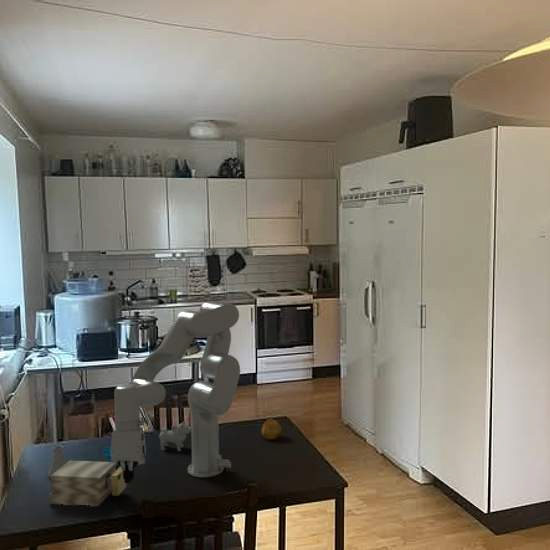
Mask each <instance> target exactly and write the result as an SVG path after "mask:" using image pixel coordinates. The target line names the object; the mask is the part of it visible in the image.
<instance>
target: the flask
mask: <svg viewBox="0 0 550 550" xmlns="http://www.w3.org/2000/svg"><path fill="white" fill-rule="evenodd" d="M63 449H64V446H63V445H56V446H53V447H52V450H53V457H52V462H51V464H50V468H49V470H48V473H47V477H48V478H49V479H50V480H51V475H52V474H54V473H55V472H56V471H57V470H59V469H60V468H61V467H62V466H64V465H65V464H66V463H67V462H66V460H65V457H64V453H63V451H64V450H63Z"/></svg>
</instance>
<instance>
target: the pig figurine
mask: <svg viewBox="0 0 550 550" xmlns="http://www.w3.org/2000/svg"><path fill="white" fill-rule="evenodd" d="M190 433H191V426H189V425H187V424H186V421H182V422H181V423H179V424H178V425H177V426H176V425H175V424H173V425H172V426H171V430H168V429H166V428H163V429H161V430H160V433H159V435H158V437H159V440H160V449H161V451H165V450H166V449H165V446H167V447H169V445H168V443H169V442H170V443H174V444H175V445H176V448H177V452H182V450H181V448H184V447H185V446H184V443H183V442H184V441H186V439H187V438H188V437H187V435H188V434H190Z"/></svg>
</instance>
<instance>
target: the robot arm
mask: <svg viewBox="0 0 550 550" xmlns="http://www.w3.org/2000/svg"><path fill="white" fill-rule="evenodd" d="M239 318H240V313H239V309H238V308H237V306H235V305H234V304H233V303H230V302H224V301H217V300H216V301H215V300H207V301H204V302H203V303H201V305H200V307H199V311H197V310H196V311H195V310H182V311H181V312H179V313H178V314H177V316H176V317H175V319H174V320H173V321H172V322H173V323H172V324H171V326H170V327H169V329H168V331H167V333H166V335H165V336H164V337H163V340H162V341H161V343H160V345H159V346H158V348H156V349H155V350H154V351H153V352H151V353H150V354H149V355H148V356H147V357H146V358H145V359H144V360H143V361H142V362H141V363H140V365H139V366H138V368H137V369H136V371H135V373H134V374H133V376H132V378H131V379H130V382H129V383H125V384H124V383H122V384H119V385H117V386H115V389H114V393H113V394H114V428H113V430H112V435H111V442H110V443H111V444H110V445H111V446H110V447H111V458H112V460H111V462H112V463H115V464H117V466H118V465H119V466H120V467H121V469H122V470H123V479H124V483H126V484H130V483H131V482H132V481H133V480H134V479H135V468H136V467H137V466H139V465H144V464H145V463H146V458H145V456H146V455H147V448H146V447H147V445H146V439H145V437H146V436H145V432H144V429H143V428H144V427H143V426H144V424H145V421H144V420H142V419H141V416H140V408H142V407H154V406H157V405H160V404H161V403H162V402H163V401H164V400H165V398H166V394H167V393H166V389H165V387H164V386H163V385H162V384H161V383H159V382H156V381H155V378H156V377H157V376H158V374H159V373H160V372H161V371H162V370H164V369H165V368H166V367H168V366H170V365H174V364H175V363H178V362H180V361H181V360H183V357H184V356H185V354H186V352H187V351H188V349H189V348H190V344H191V343H192V342H193V340H194V338H198V339H202V338H206V343H205V347H204V351H203V354H202V357H201V362H200V366H199V371H200V373H201V374H202V375H203V376H204V377H205V378H208V379H210V380H213V383H212V382H210V381H206V380H205V381H204V380H200V381H196V382H195V383H193V384H192V385H191V386H190V388H189V390H188V393H187V399H188V400H187V401H188V406H189V407H188V408H189V411H190V425H191V426H190V427H191V431H190V433H191V437H190V438H191V463H190V464H189V465H188V467H187V474H189V475H191V476H192V477H196V478H211V477H216V476H218V475H220V474H221V473H222V472H224V468H228V469H230V468H232V462H231V461H230V460H229V459H223V458H222V454H220V446H219V445H220V438H219V435H220V434H219V429H220V426H219V423H220V422H219V416H222V415H225V414H226V413H227V412H228V411H229V410H230V409H231V407H232V404H233V401H234V398H235V395H236V390H237V386H238V383H239V378H240V374H241V366H240V363H239V360H238V359H237V358H236V357H235V356H233V355H231V354H229V353H230V348H231V343H232V332H231V328H233V327H234V326H235V325H236V324H237V322H238V320H239Z"/></svg>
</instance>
